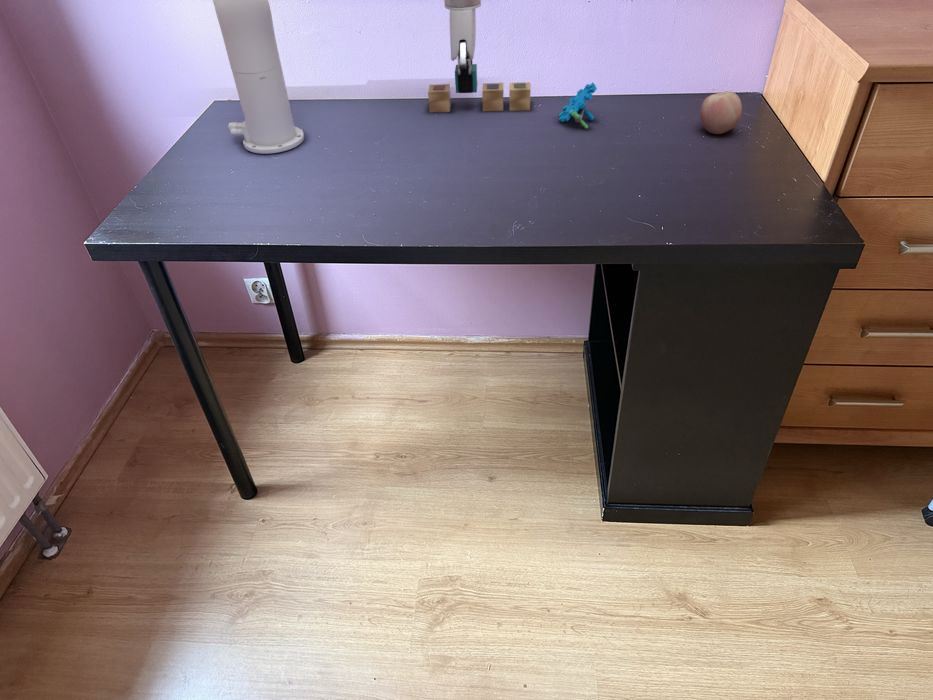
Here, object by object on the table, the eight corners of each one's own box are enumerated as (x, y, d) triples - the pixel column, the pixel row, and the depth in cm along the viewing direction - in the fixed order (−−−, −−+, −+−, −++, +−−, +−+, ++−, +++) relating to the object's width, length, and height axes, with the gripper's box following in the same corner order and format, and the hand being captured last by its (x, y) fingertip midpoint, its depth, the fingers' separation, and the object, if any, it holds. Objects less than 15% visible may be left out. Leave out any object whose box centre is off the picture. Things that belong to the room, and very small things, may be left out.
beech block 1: (429, 112, 149) (427, 91, 146) (431, 104, 152) (429, 84, 149) (449, 112, 148) (448, 90, 145) (451, 104, 152) (450, 83, 149)
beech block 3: (509, 110, 147) (509, 89, 144) (509, 103, 151) (509, 82, 148) (530, 110, 147) (530, 89, 144) (529, 102, 151) (530, 81, 148)
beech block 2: (482, 111, 148) (482, 90, 145) (483, 103, 151) (482, 82, 148) (503, 110, 148) (503, 89, 144) (503, 103, 151) (503, 82, 148)
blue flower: (561, 101, 146) (595, 72, 139) (579, 120, 148) (613, 92, 141) (551, 128, 139) (587, 98, 132) (570, 147, 141) (606, 119, 134)
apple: (724, 122, 138) (732, 83, 133) (744, 136, 132) (754, 96, 127) (689, 127, 137) (697, 88, 131) (709, 142, 131) (717, 102, 126)
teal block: (455, 93, 146) (454, 71, 142) (457, 85, 149) (456, 64, 146) (476, 92, 145) (475, 70, 142) (477, 85, 149) (476, 63, 146)
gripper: (447, -12, 142) (452, 75, 154) (440, 9, 129) (446, 102, 141) (482, -13, 141) (484, 74, 153) (479, 8, 128) (481, 102, 140)
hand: (466, 87), depth 147 cm, fingers closed on teal block, 4 cm apart
